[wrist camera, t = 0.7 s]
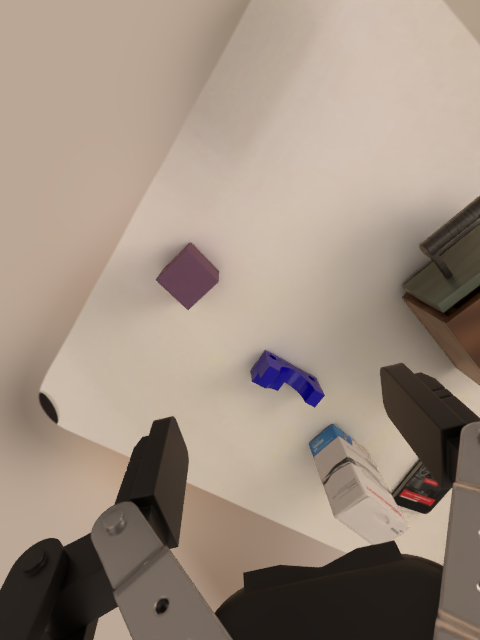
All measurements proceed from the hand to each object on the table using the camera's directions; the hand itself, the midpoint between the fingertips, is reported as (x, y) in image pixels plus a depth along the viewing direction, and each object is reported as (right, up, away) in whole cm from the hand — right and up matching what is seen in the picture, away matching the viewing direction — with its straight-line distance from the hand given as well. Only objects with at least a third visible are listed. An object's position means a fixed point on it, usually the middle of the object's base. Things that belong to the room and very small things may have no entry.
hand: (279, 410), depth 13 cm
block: (-7, +9, +25) cm, 28 cm away
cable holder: (+4, -4, +31) cm, 31 cm away
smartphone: (+28, -19, +38) cm, 51 cm away
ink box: (+13, -15, +36) cm, 41 cm away
